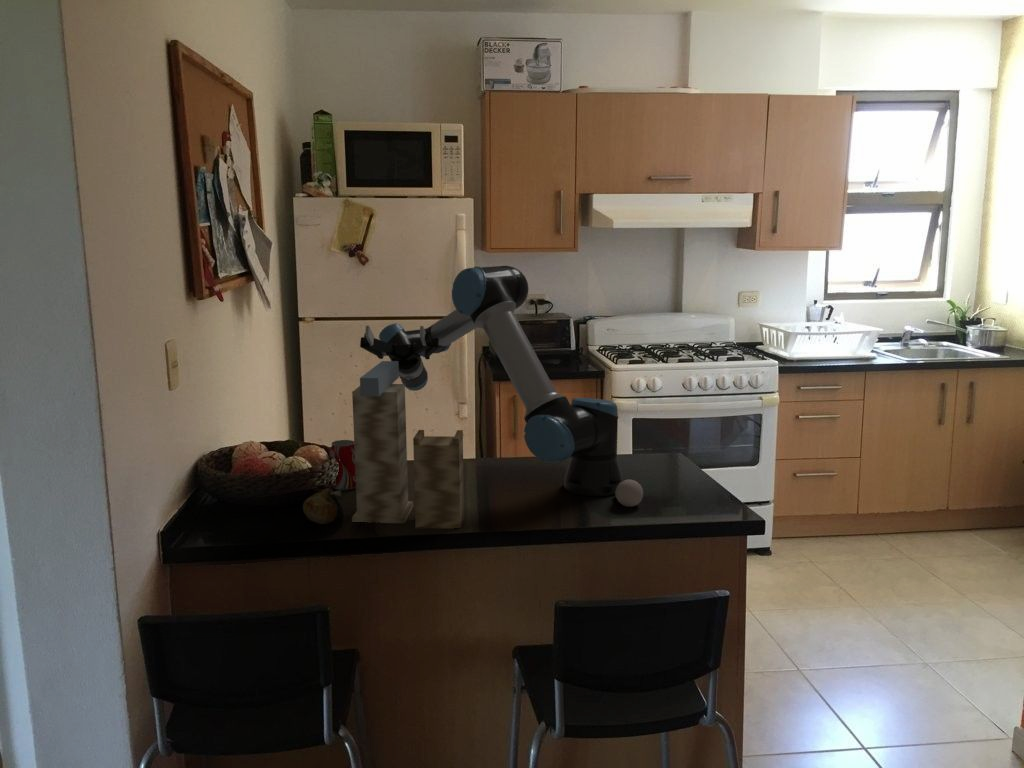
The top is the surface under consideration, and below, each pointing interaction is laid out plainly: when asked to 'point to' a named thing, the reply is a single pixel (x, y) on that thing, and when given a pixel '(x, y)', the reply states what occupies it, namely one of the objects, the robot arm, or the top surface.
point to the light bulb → (629, 493)
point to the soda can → (344, 464)
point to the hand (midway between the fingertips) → (394, 330)
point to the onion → (321, 506)
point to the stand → (381, 456)
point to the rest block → (438, 480)
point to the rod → (379, 378)
